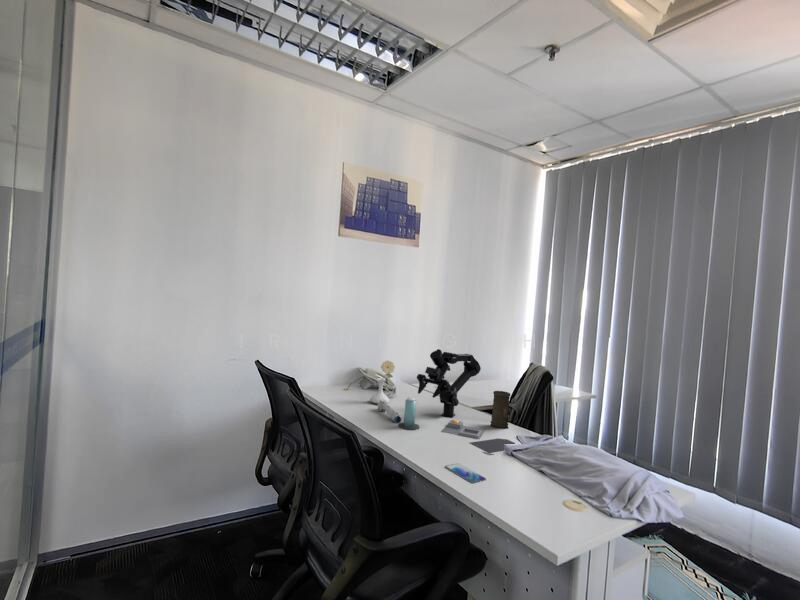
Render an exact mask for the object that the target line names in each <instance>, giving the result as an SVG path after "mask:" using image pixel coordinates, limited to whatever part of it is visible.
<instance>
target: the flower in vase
mask: <svg viewBox="0 0 800 600" xmlns="http://www.w3.org/2000/svg"><path fill="white" fill-rule="evenodd" d="M380 369H381V371H382V372H383V373H384V375H382V374H380V373H378V376H380V378H379V377H378V378H376V380H377V383H378V389H377V390H378V391H377V392H376V393H375V394H373V395H371V396H370V398H369V401H370V402H372V403H374V404H377V405H378V404H379V402H380V400H381V399H385V400H386V402H387V404H388V403H390V398H389V396H387V395H386V394H385V393H384V392H383V388H384V383H385V381H386V378H389V379H390V378H393V375H392V374H391V373H394V370H395V369H396V366H395V364H394V362H393V361H391V360H389V359H388V360H385V361H383V362H382V363H381V365H380ZM385 377H386V378H385Z"/></svg>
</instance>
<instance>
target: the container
mask: <svg viewBox="0 0 800 600" xmlns="http://www.w3.org/2000/svg"><path fill="white" fill-rule="evenodd" d="M492 394H493V403H492V415H491V420H490V425H489V426H490V427H492V428H495V429H498V430H506V429H507V430H508V429H509V411H510V410H509V409H510V397H511V396H512V395H511V393H510V392H507V391H503V390H494V391H493V393H492Z"/></svg>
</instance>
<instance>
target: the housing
mask: <svg viewBox="0 0 800 600" xmlns="http://www.w3.org/2000/svg"><path fill="white" fill-rule="evenodd" d="M453 420H454V419H450V420H449V421H448V422H447V425H446V426H445V427H444V428H442V430H441V431H440V432H441V433H446V434H449V435H453V436H454V435H456V436H459V437H465V438H471V439H476V440H480V439H481V438H482V436H483V434H484V433H485V432H486V429H483V428H478V427H474V426H473V427H471V426H466V425H464V421H461V420H458V421H459V424H456V423H452V422H453Z"/></svg>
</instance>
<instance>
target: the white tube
mask: <svg viewBox="0 0 800 600" xmlns="http://www.w3.org/2000/svg"><path fill="white" fill-rule="evenodd" d="M377 411H378V412H380V411H382V413H386V414H387V415H388V416H389V418H390V420H391V421H392V422H394V423H395V424H399V423H402V417H401V415H400V414H399V413H398V412H396V411H395V410H394V408H392V407H391V406H390V405H389V404H388V403H387V402H386V400H385V399H381V400H380V402H379V404H377ZM385 411H386V412H385Z"/></svg>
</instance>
